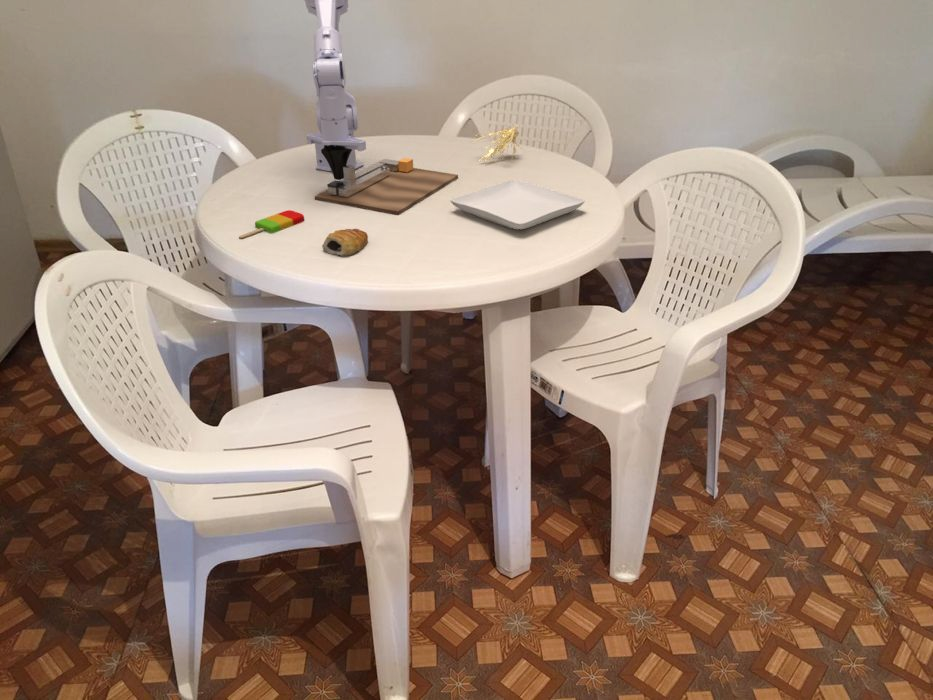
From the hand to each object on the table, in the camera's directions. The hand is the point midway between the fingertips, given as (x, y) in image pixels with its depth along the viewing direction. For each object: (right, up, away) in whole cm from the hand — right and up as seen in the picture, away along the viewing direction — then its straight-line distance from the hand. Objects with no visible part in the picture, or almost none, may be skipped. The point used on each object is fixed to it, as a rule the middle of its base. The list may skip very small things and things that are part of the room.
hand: (339, 178), depth 163 cm
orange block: (+14, +6, +15) cm, 21 cm away
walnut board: (+11, -1, +6) cm, 12 cm away
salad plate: (+40, -10, -7) cm, 41 cm away
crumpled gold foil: (+37, +11, +25) cm, 46 cm away
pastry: (+5, -19, -23) cm, 31 cm away
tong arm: (+5, 0, +5) cm, 7 cm away
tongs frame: (+5, +1, +8) cm, 10 cm away
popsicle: (-12, -14, -14) cm, 23 cm away
